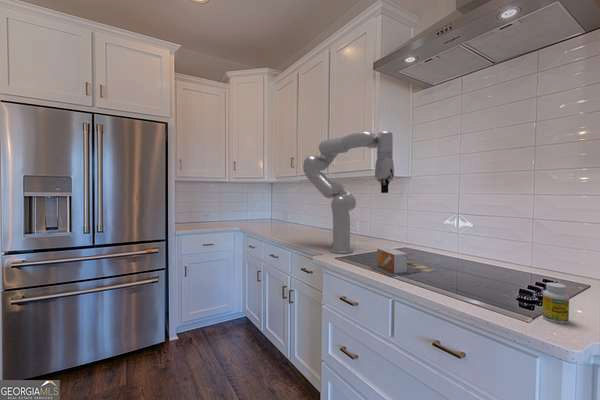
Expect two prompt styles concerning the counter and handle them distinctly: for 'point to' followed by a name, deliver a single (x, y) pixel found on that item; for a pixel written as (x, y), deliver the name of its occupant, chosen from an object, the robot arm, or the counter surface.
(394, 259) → the small box
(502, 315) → the counter surface
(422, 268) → the turner
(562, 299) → the supplement bottle
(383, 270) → the mat
